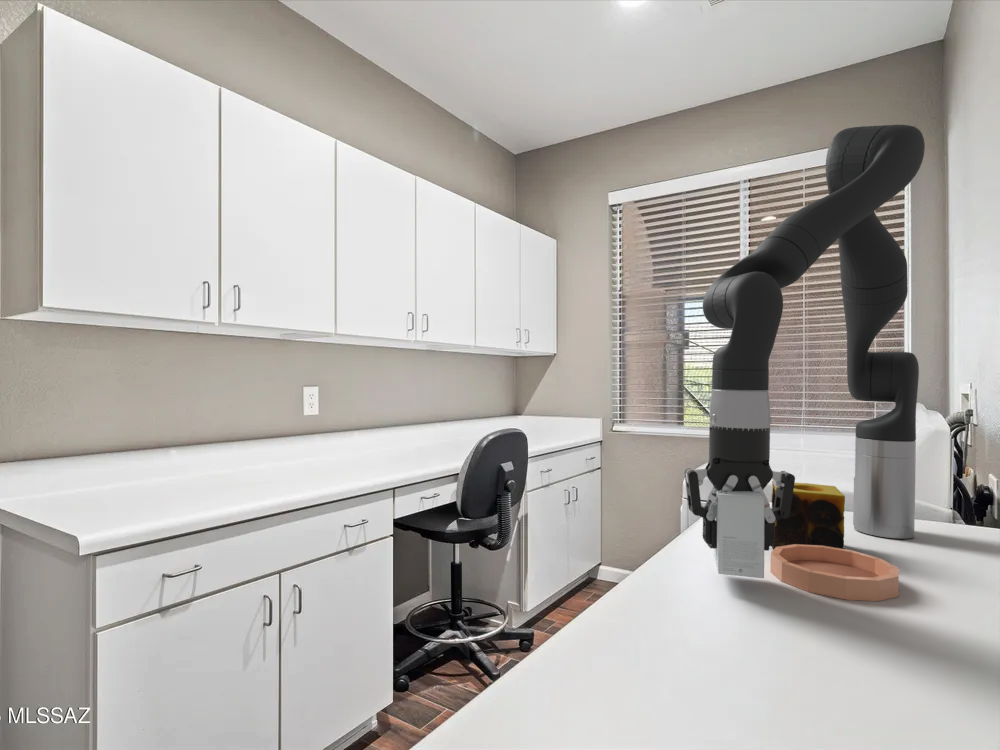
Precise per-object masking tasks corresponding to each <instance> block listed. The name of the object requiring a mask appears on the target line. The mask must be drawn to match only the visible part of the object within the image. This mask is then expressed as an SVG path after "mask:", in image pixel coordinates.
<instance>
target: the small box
mask: <svg viewBox="0 0 1000 750" xmlns="http://www.w3.org/2000/svg"><path fill="white" fill-rule="evenodd" d="M717 495H718V505H717V516H716V518H715V520H716V521H717V548H716V549H714V548H713V557H714V561H715V564H716V569H717V574H718V575H723V576H724V575H725V576H733V577H734V576H735V577H745V578H756V579H764V578H765V550H764V511H765V497H764V496H763V495H762V494H761V493H759V492H758V493H755V492H752V491H731V492H726V491H725V492H719V491H716V496H717Z"/></svg>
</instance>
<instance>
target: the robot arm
mask: <svg viewBox="0 0 1000 750" xmlns="http://www.w3.org/2000/svg"><path fill="white" fill-rule="evenodd" d="M925 148H926V146H925V138H924V136H923V133H922V131H921V129H919V128H918V127H916V126H913V125H910V124H909V125H908V124H885V125H883V124H882V125H870V126H869V125H868V126H866V125H864V126H854V127H847V128H844V129H842V130H840V131H838V132H837V133H836V134H835V135H834V136H833V138H832V140H831V141H830V142H829V145H828V149H827V152H826V156H825V157H826V158H825V177H826V178H825V179H826V185H827V191H828V195H826V196H824V197H822V198H819V199H817V200H815V201H813V202H812V203H809V204H807V205H806V206H804V207H802V208H800V209H798V210H796V211H795V212H793V213H792V214H790V215H789V216H787V217H786V218H785V219H783V221H781V222H780V223H779V224H778V225H777V226H776V227H775V228H774V229H773V230H772V231H771V232H770V234H768V235H767V236H766V238H764V239H763V240H762V242H761V243H760V244H759V245H758V246H757V247H756V248H755V249H754V250H753V251H752V252H751V253H749V254H748V255H747V256H744V257H743V258H742V259H740V260H739V261H738V262H736V263H735V264H734V265H732V266H731V267H730V268H729V269H727V270H726V271H724V272H723V273H722V274H721V275H719V276H718V277H717V278H716V279H715V280H714V281H713V282H712V283H711V285H709V287H708V288H707V290H706V292H705V294H704V296H703V300H702V311H703V315H704V318H705V319H706V320H707V321H708V322H709V324H711V325H712V326H714V327H716V328H718V329H726V330H731V333H730V337H729V340H728V342H727V343H726V344H725V345H723V346H721V347H719V348H717V350H715V352H714V353H713V357H712V366H711V367H712V371H711V372H712V374H711V396H710V401H709V433H708V434H709V435H708V436H709V437H708V438H709V439H708V442H709V444H708V446H709V447H708V461H707V462H708V463H707V464H706V466H705V468H700V469H692V468H689V467H688V468H686V469H685V470H684V480H685V490H686V496H687V498H686V499H687V505H688V510H689V511H690V512H691V513H692V514H693V515H694V516H697V517H701V518H702V539H703V541H704V542H705V544H707V547H709V548H710V549H713V550H714V549H716V548H717V521H716V520H715V518H716V516H717V505H718V495H717V496H716V491H719V492H725V491H726V492H731V491H752V492H755V493H758V492H759V493H761V494H762V495H763V496H764V497H765V511H764V552H765V551H766V552H767V551H770V547H772V546H773V543H774V523H775V521H777V520H779V519H782V518H784V519H787V518H788V517H789V516H790V510H791V503H792V497H793V490H794V483H796V482H795V481H796V477H795V475H794V474H792V473H790V472H788V471H785V470H780V471H775V470H772V467H771V465H770V453H771V452H770V451H771V450H770V449H771V448H770V447H771V424H772V417H771V404H770V403H771V402H770V396H769V386H770V383H769V381H770V377H769V376H770V372H769V371H770V369H769V367H770V366H769V365H770V364H769V360H770V356H771V355H772V354H771V353H772V351H773V348H774V345H775V341H776V338H777V333H778V330H779V326H780V323H781V320H782V316H783V309H784V297H783V293H782V289H783V288H785V287H788V286H790V285H793V284H794V283H795V282H797V281H798V280H799V279H800V278H801V277H802V276H803V275H804V274H805V273H806V272H807V271H808V270H809V268H811V267H812V265H814V263H816V261H817V260H818V259H819V258H820V257H821V256H822V255H823V254H824V252H826V251H827V250H828V249H829V247H831V246H832V245H833V244H834V243H835V242H836V241H837V244H838V253H839V254H838V255H839V268H840V271H839V273H840V284H841V296H842V301H843V302H842V303H843V311H844V319H845V328H846V329H845V330H846V375H847V378H846V380H847V387H848V390H849V394H850V396H851V397H852V398H853V399H855V400H856V401H862V402H877V403H878V402H879V403H880V402H881V403H894V404H895V407H894V408H892V409H891V411H888V412H887V413H885V414H883V415H880V416H876V417H875V418H871V419H870V418H869V419H865V420H861V421H858V422H857V423H856V425H855V443H854V444H855V449H854V452H855V453H854V454H855V455H854V456H855V458H854V460H855V461H854V477H853V512H852V513H853V515H852V516H853V517H852V519H853V520H852V522H853V523H852V525H853V528H854V530H856V531H857V532H860V533H863V534H866V535H871V536H875V537H882V538H887V539H889V538H890V539H912V538H913V539H914V537H915V525H916V524H915V519H916V517H915V515H916V450H917V449H916V446H917V445H916V444H917V442H916V441H917V430H916V429H917V425H916V424H917V423H916V421H917V420H916V419H917V415H916V414H917V403H918V402H917V401H918V391H919V390H918V388H919V387H918V386H919V378H920V376H919V375H920V373H919V372H920V370H919V369H920V367H919V361H918V359H917V357H916V355H915V354H914V353H912V352H909V351H880V352H879V351H875V352H873V351H871V352H869V350H870V347H871V345H872V343H873V342H874V340H875V338H876V337H877V336H878V334H879V333H880V332H881V331H882V330H883V328H885V326H887V324H888V323H889V322H890V321H891V320H892V319H893V318H894V317H895V316H896V315H897V313H898V312H899V311H900V309H901V308H902V307H903V305H904V304H905V302H906V299H907V297H908V291H909V290H908V284H909V283H908V280H909V279H908V261H907V258H906V255H905V253H904V252H903V250H902V247H901V246H900V245H899V244H898V242H897V241H896V239H895V238H894V236H892V234H891V233H890V232H889V230H888V229H887V228H886V227H885V226H884V224H883V222H882V221H881V220H880V219H879V218H878V216H877V214H876V213H875V211H876V210H878V209H879V208H880V207H882V206H883V205H884V204H886V203H887V202H889V201H890V200H892V199H893V198H894V197H895V196H897V195H898V194H899V193H900V192H902V191H903V190H904V189H905V188H907V186H908V185H909V184H910V183H911V182H912V181H913V180H914V178H915V177H916V175H917V174H918V173H919V171H920V168H921V166H922V164H923V159H924V156H925ZM705 478H707V479H708V480H709V481H710V483H711V484H712V486H713V487H712V489H711V490H710V492H709V494H708V496H707V500H706V502H705V504H704V505H703V506H702V500H701V491H700V487H701V486H702V485H703V484H704V479H705ZM771 480H772V481H773V484H774V486H776V487H777V488H776V495H775V502H774V508H772V507H771V506H770V502H769V499H768V497H767V496H766V494H765V492H764V489H765V488H766V487H767V485H768V484H769V483H770V482H771Z"/></svg>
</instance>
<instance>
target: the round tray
mask: <svg viewBox="0 0 1000 750" xmlns="http://www.w3.org/2000/svg"><path fill="white" fill-rule="evenodd" d="M899 569H900V568H899V567H898V566H896V565H894V564H891V562H888V561H887V560H885V559H883V558H881V557H878V556H873V555H870V554H868V553H867V554H866V553H862V552H859V551H855V550H852V549H846V548H845V549H844V548H843V549H840V548H834V547H828V546H821V545H800V544H793V545H786V546H779V547H775V549H774V550H773V549H772V551H771V553H770V569H769V570H770V573H771V574H772V575H773V576H775V577H776V578H777V579H778V580H779V581H781V582H783V583H784V584H787V585H790V586H792V587H795V588H798V589H801V590H803V591H805V592H808V593H813V594H816V595H822V596H827V597H831V598H836V599H842V600H849V601H850V600H851V601H867V602H869V601H870V602H881V601H885V600H891V599H894V598H899V579H900V578H899V577H900V576H899V575H900V574H899V573H900V570H899Z"/></svg>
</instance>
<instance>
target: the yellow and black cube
mask: <svg viewBox="0 0 1000 750" xmlns="http://www.w3.org/2000/svg"><path fill="white" fill-rule="evenodd" d="M771 485H772V493H771V508H774V502H775V495H776V488H777V487H776V486H774V484H773V480H772V481H771ZM845 504H846V496H845V495H844V493H842V492H841V491H840V490H839V489H838V487H837V486H835V485H825V484H819V483H818V484H816V483H815V484H814V483H807V482H795V483H794V490H793V497H792V503H791V510H790V516H789V517H788V518H787V519H784V518H782V519H779V520H777V521H775V523H774V543H773V546H771V549H772V551H773V550H774V549H775V547H779V546H786V545H793V544H800V545H821V546H828V547H834V548H840V549H844V547H845V540H844V539H845Z"/></svg>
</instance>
